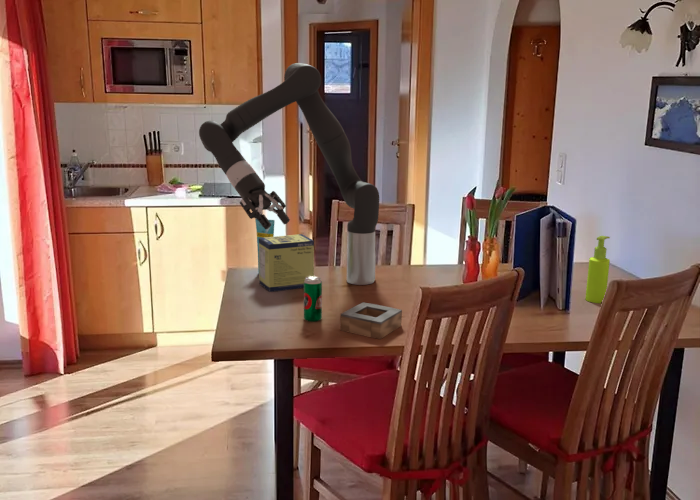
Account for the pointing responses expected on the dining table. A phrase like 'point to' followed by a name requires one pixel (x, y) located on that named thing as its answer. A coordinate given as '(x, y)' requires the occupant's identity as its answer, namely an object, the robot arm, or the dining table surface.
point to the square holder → (371, 320)
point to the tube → (263, 233)
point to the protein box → (285, 261)
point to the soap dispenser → (597, 273)
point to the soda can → (312, 299)
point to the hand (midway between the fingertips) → (278, 224)
